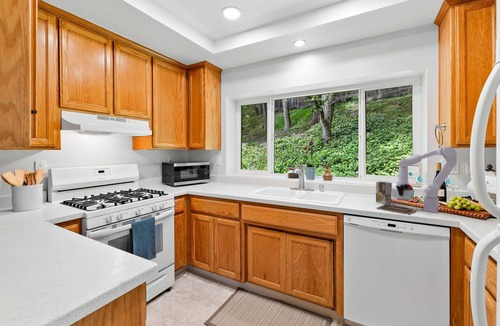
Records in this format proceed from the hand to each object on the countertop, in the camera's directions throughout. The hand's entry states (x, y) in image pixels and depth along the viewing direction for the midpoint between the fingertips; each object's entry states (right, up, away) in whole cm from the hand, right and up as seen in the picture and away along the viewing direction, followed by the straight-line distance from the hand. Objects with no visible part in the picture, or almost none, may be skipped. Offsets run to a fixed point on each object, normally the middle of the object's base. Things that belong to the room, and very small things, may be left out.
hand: (402, 195), depth 170 cm
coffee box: (-5, -8, +16) cm, 18 cm away
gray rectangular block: (0, -2, 0) cm, 2 cm away
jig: (-8, -9, -5) cm, 13 cm away
